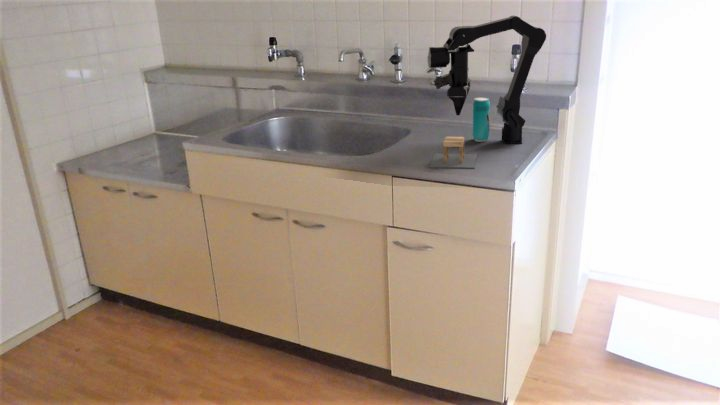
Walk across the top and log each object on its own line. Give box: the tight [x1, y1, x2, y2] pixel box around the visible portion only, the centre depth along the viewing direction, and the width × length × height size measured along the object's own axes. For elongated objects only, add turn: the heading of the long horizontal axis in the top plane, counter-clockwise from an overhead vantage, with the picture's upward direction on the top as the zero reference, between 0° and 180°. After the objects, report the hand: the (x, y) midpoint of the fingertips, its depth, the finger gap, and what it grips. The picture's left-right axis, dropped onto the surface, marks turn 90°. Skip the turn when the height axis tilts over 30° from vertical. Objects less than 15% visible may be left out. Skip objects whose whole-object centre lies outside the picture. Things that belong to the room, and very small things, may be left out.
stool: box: [442, 136, 465, 163], centre depth 193 cm, size 6×6×7 cm
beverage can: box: [472, 96, 491, 143], centre depth 212 cm, size 6×6×15 cm
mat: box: [429, 152, 478, 170], centre depth 194 cm, size 14×14×1 cm
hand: (459, 112), depth 206 cm, fingers open, 9 cm apart
